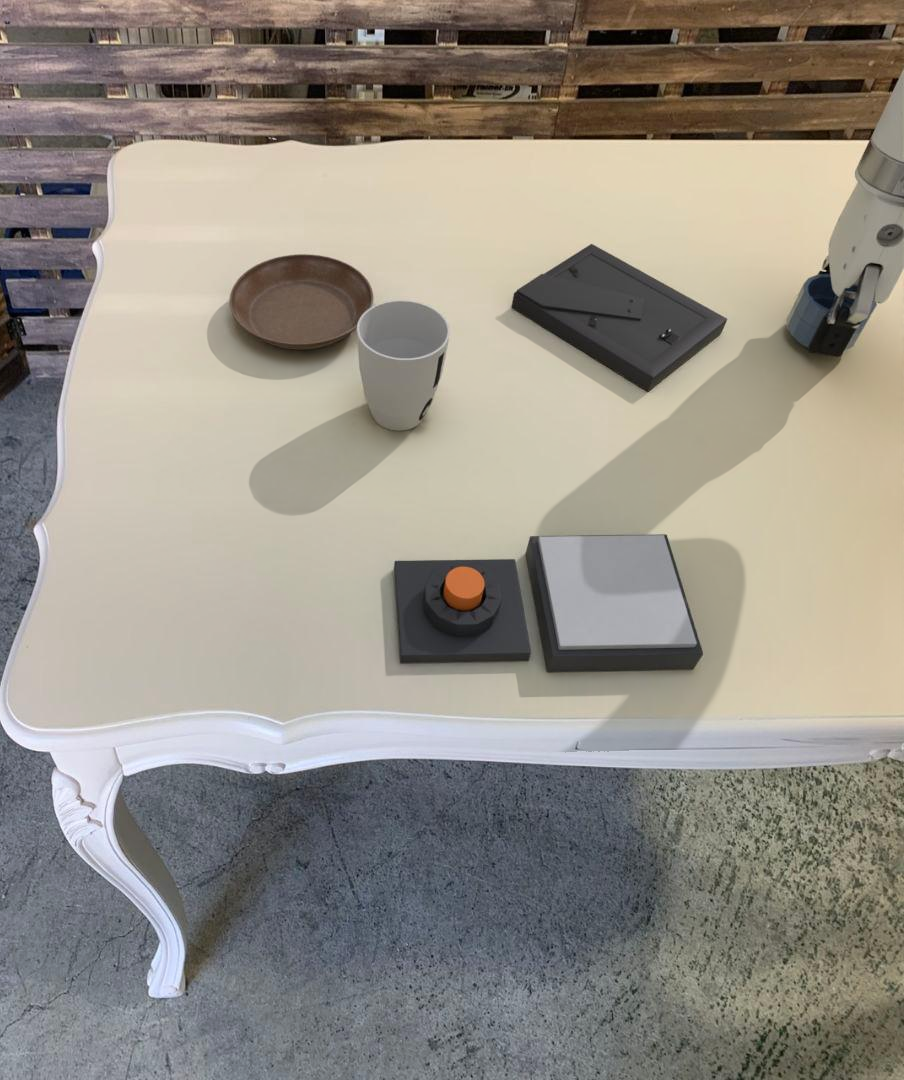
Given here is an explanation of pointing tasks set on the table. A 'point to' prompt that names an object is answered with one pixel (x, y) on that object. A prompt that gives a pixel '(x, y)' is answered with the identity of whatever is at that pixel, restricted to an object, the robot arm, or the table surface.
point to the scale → (610, 604)
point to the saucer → (301, 300)
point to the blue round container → (818, 309)
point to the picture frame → (619, 315)
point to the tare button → (463, 588)
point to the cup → (401, 360)
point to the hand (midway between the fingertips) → (822, 328)
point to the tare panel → (459, 614)
